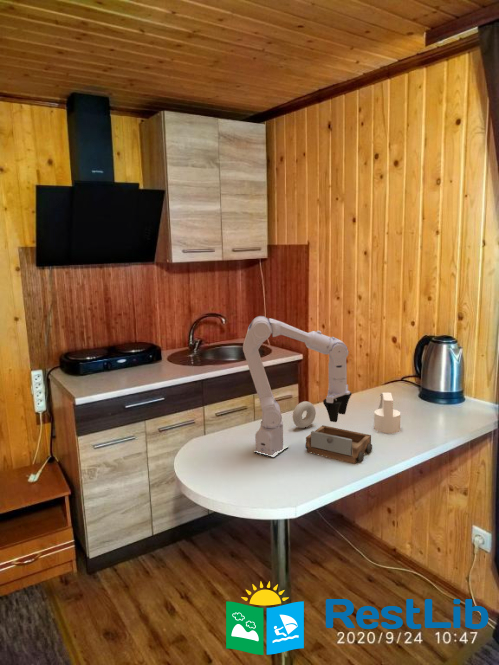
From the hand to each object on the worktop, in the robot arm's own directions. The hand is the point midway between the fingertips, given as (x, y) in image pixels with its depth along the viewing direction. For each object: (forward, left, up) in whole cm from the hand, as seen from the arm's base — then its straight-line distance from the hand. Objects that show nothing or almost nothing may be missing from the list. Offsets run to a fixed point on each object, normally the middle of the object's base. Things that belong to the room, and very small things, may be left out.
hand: (337, 417), depth 156 cm
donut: (+10, +18, -11) cm, 23 cm away
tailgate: (-8, -1, -8) cm, 12 cm away
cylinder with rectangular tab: (+24, -8, -11) cm, 27 cm away
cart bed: (-2, -1, -10) cm, 11 cm away
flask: (+32, -4, -11) cm, 34 cm away
